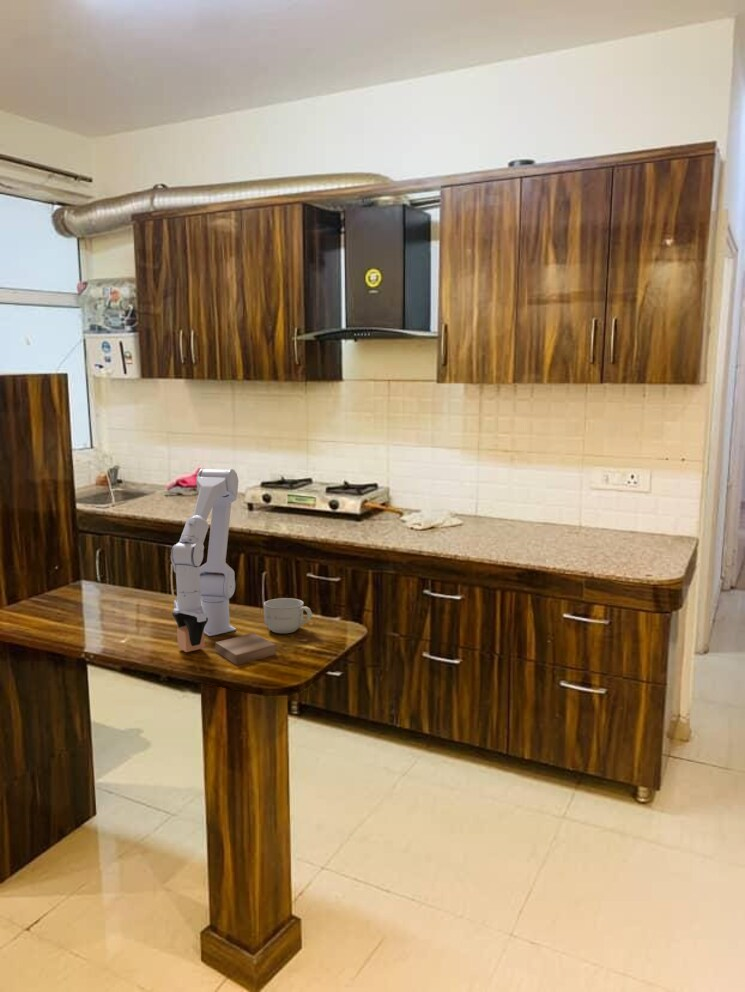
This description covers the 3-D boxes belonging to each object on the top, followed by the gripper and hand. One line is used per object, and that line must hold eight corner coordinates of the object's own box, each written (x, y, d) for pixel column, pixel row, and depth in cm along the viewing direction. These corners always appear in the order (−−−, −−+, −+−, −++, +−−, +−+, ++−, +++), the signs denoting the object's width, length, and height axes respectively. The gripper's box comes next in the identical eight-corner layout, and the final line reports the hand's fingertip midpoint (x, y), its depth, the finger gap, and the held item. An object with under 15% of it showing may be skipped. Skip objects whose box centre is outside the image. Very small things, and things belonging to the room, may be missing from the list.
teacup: (256, 631, 205) (255, 603, 204) (284, 620, 214) (283, 593, 213) (293, 642, 197) (292, 613, 196) (321, 631, 205) (320, 603, 204)
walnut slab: (215, 653, 191) (215, 642, 190) (253, 643, 197) (253, 632, 197) (236, 666, 182) (236, 655, 182) (275, 656, 189) (275, 644, 188)
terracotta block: (177, 646, 192) (176, 627, 191) (196, 642, 195) (195, 623, 194) (186, 652, 188) (185, 633, 187) (204, 647, 191) (203, 628, 190)
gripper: (161, 586, 192) (164, 637, 194) (186, 599, 181) (188, 653, 183) (187, 581, 196) (189, 631, 199) (213, 594, 185) (215, 647, 187)
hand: (190, 641), depth 191 cm, fingers closed on terracotta block, 5 cm apart
